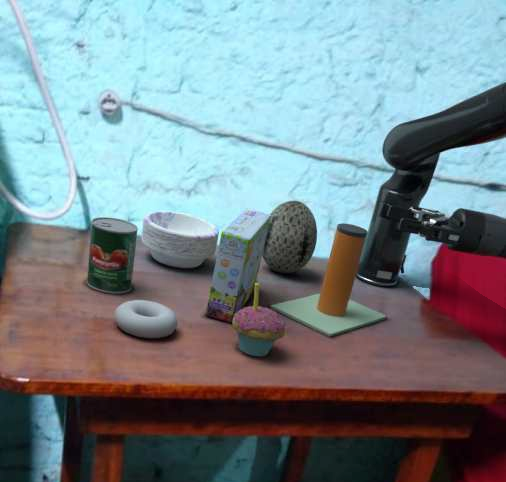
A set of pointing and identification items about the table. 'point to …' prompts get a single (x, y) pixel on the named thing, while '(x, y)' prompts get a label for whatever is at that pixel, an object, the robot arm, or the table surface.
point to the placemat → (326, 324)
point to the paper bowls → (179, 238)
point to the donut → (145, 319)
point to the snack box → (237, 264)
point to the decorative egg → (290, 237)
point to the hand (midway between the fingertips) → (394, 217)
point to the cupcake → (257, 327)
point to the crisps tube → (341, 269)
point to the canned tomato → (111, 255)
